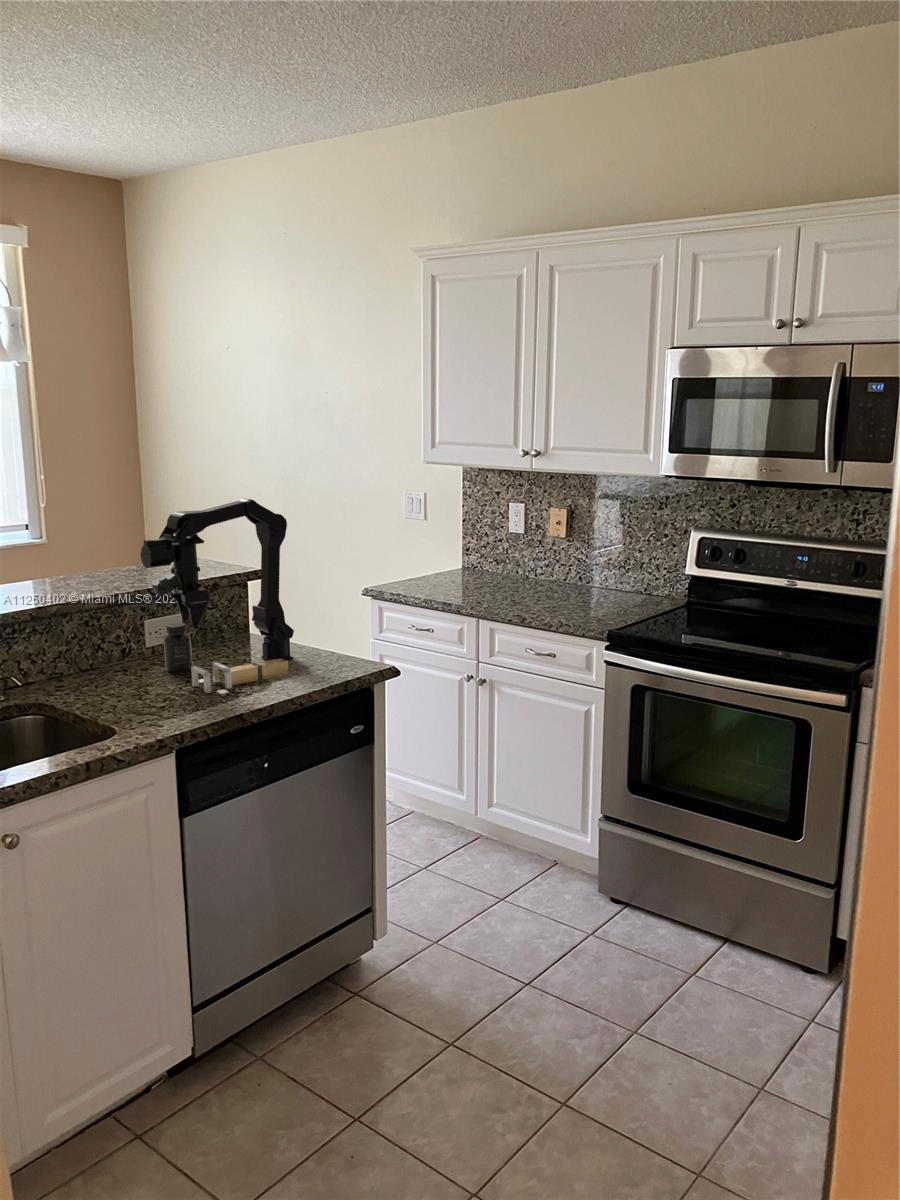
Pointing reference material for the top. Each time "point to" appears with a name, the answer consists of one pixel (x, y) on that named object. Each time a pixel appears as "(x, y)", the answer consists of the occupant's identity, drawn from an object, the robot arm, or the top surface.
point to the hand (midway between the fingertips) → (190, 624)
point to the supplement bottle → (177, 648)
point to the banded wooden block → (259, 671)
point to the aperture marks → (218, 690)
